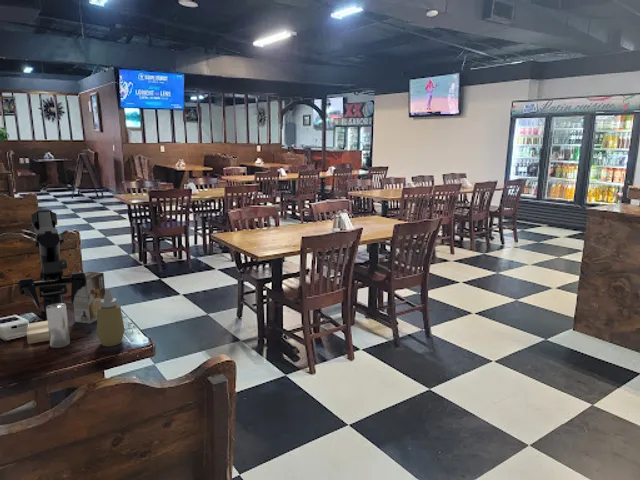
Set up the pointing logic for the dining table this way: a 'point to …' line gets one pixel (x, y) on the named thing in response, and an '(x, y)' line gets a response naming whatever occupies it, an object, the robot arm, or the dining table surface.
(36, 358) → the dining table surface
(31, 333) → the block
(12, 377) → the dining table surface
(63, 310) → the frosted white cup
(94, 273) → the coffee box
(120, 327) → the squeeze bottle
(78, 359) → the dining table surface
